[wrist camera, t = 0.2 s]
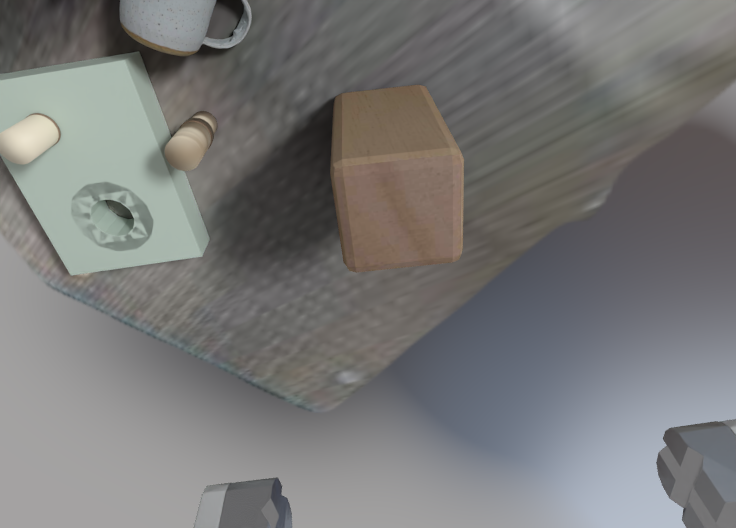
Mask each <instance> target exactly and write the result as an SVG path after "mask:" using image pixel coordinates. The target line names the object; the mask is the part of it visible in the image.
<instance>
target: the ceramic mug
mask: <svg viewBox="0 0 736 528" xmlns="http://www.w3.org/2000/svg"><path fill="white" fill-rule="evenodd" d="M241 1H242V3H243V5H244V12H243V15H242V17H241V20H240V23H239V24H238V26H237V28H236V29H235V30H234V31H233V36H231V37H229V38H226V39H221V40H220V39H212V38H207V37H205V36H206V33H207V30H208V26H209V22H210V18H211V15H212V12H213V9H214V6H215V3H216V0H120V8H119V9H120V22H121V25H122V27H123V29H124V30H125V31H126V33H127V34H128V35H129V36H131V37H132V38H133V39H135V40H136V41H138V42H139V43H141V44H143V45H145V46H147V47H149V48H152V49H154V50H157V51H160V52H164V53H167V54H171V55H177V56H189V55H192V54H194V53H196V52H198V50H199V48H200V47H201V45H202V44H205V45H207V46H210V47H213V48H219V49H221V48H230V47H232V46H235V45H236V44H238V43H239V42H241V41H242V40H243V38H244V37H245V36H246V34H247V32H248V30H249V28H250V25H251V19H252V14H251V8H250V6H249V4H248V1H247V0H241Z"/></svg>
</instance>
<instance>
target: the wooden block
mask: <svg viewBox="0 0 736 528" xmlns="http://www.w3.org/2000/svg"><path fill="white" fill-rule="evenodd" d="M330 175H331V181H332V188H333V195H334V201H335V208H336V215H337V221H338V228H339V235H340V241H341V248H342V255H343V261H344V263H345V265H346V266H347V268H348V269H349V271H352V272H365V271H374V270H384V269H393V268H403V267H412V266H422V265H431V264H441V263H451V262H454V261H457V260H459V258H460V255H461V253H462V250H463V181H464V158H463V156H462V154H461V152H460V150H459V148H458V146H457V144H456V142H455V140H454V138H453V137H452V135H451V133H450V131H449V129H448V127H447V125H446V124H445V122H444V120H443V118H442V116H441V114H440V112H439V111H438V109H437V107H436V105H435V103H434V101H433V99H432V98H431V96H430V94H429V92H428V90H427V88H426V87H425V86H421V85H411V86H402V87H393V88H384V89H375V90H366V91H357V92H348V93H341V94H340V95H338V96H336V97H335V101H334V108H333V128H332V149H331V169H330Z"/></svg>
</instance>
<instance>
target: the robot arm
mask: <svg viewBox="0 0 736 528" xmlns="http://www.w3.org/2000/svg"><path fill="white" fill-rule="evenodd" d="M663 440H664V442H665V443H666V445H667V446H666V447H665V448H663V449H662V450H661V451H660V452H659V453H658V458H657V462H656V463H657V469H658V475H659V478H660V480H661V483H662V486H663V488H664V489H665V491H666V493H667V495H668V496H669V498H670V499H671V500H673V501H674V502H675V503H677V504H678V505H680V506H681V507H683V508H684V509H683V517H682V521H683V522H684V524H685V526H686V528H736V419H735V420H727V421H720V422H716V421H715V422H708V423H701V424H695V425H688V426H680V427H674V428H669V429H668V430H666V431H665V434H664V437H663ZM281 492H282V485H281V483H280V481H279V479H278V478H270V479H261V480H253V481H246V482H236V483H225V484H218V485H210V486H207V487H206V488H205V490H204V492H203V494H202V497H201V501H200V505H199V509H198V513H197V516H196V520H195V525H194V528H292V513H291V508H290V504H289V502H288V499H287V498H286V497H284V496H282V495H281Z"/></svg>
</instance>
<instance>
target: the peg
mask: <svg viewBox="0 0 736 528" xmlns="http://www.w3.org/2000/svg"><path fill="white" fill-rule="evenodd" d="M216 130H217V121H216V119H215V117H214V116H213V115H212V114H210V113H208V112H205V111H200V112H197V113H196V114H195V115H194V116H193V117H192V118H190V119H188V120H187V121H185V122H184V123H183V124H182V125H181V126H180V128H179V130H178V131H177V132H176V133H175V135H174V136H173V137H172V138H171V140H170V141H169V142H168V143H167V145H166V147H165V157H166V159H167V161H168V162H169V164H170V165H171V166H173V167H174V168H176V169H178V170H181V171H190V170H193V169H194V168H196V167H197V166H198V164H199V163H200V161H201V159H202V158H203V156H204V154H205V153H206V151H207V150H208V149H209V147H210V146H211V144H212V141H213V139H214V133H215V132H216Z"/></svg>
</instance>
